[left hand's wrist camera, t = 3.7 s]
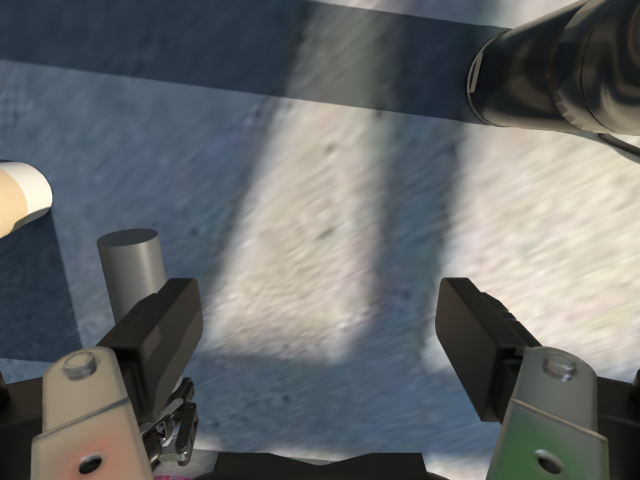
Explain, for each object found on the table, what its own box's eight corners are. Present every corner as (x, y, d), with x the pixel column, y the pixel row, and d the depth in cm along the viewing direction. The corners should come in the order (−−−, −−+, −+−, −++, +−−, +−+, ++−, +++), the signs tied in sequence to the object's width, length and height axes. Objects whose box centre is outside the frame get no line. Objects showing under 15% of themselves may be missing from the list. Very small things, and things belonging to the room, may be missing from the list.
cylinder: (117, 228, 39) (83, 246, 33) (167, 228, 38) (141, 246, 33) (151, 394, 47) (128, 430, 41) (193, 394, 46) (175, 431, 41)
